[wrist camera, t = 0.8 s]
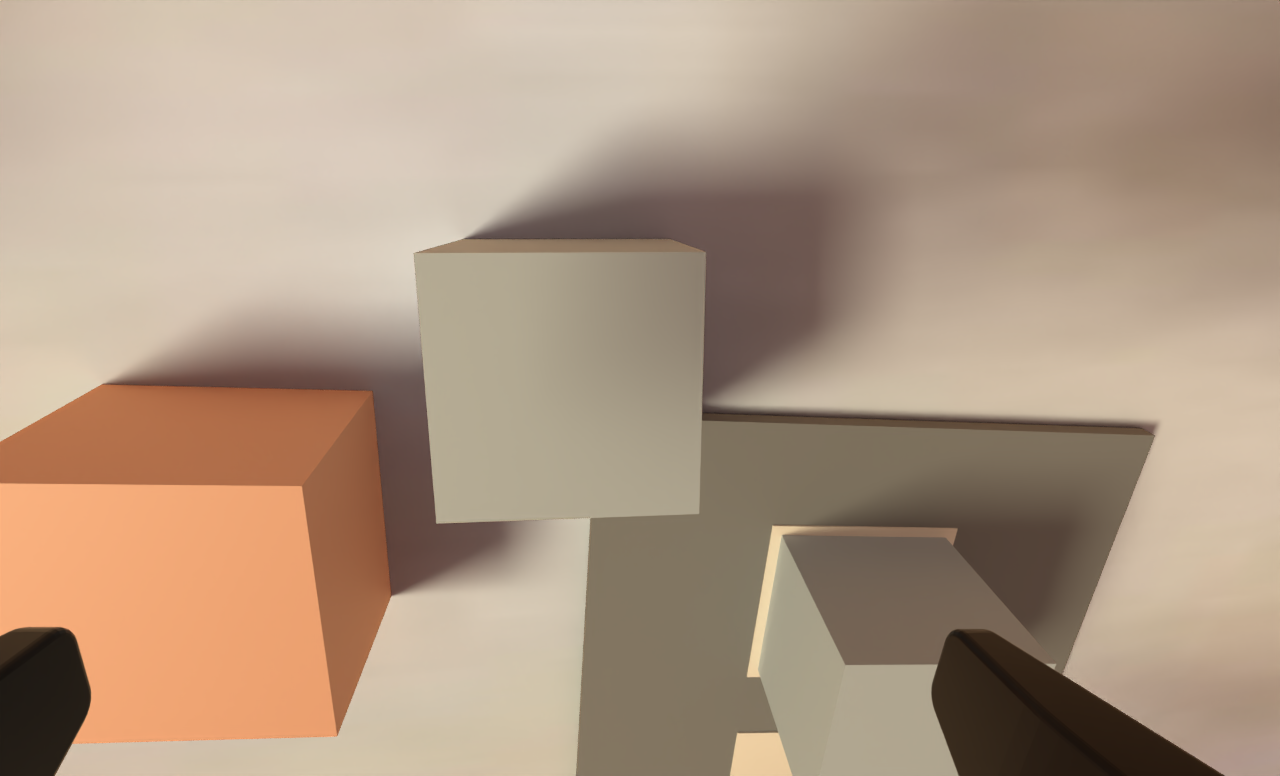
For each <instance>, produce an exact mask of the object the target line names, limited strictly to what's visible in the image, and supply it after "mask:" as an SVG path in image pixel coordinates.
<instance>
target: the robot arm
mask: <svg viewBox="0 0 1280 776" xmlns="http://www.w3.org/2000/svg"><path fill="white" fill-rule="evenodd" d="M931 697H932V703H933V707H934V711H935V713H936V716H937V719H938V722H939V724H940V727H941V730H942V732H943V735H944V738H945V740H946V743H947V746H948V748H949V751H950V754H951V757H952V759H953V762H954V765H955V767H956V770H957V773H958V775H959V776H1224V775H1223V774H1221V773H1220V772H1218V771H1216V770H1215V769H1213V768H1212V767H1210V766H1208V765H1207V764H1205V763H1203V762H1202V761H1200V760H1199V759H1197V758H1195V757H1194V756H1192V755H1191V754H1189V753H1187V752H1186V751H1184V750H1183V749H1181V748H1179V747H1178V746H1176V745H1175V744H1173V743H1171V742H1170V741H1168V740H1166V739H1165V738H1163V737H1162V736H1160V735H1158V734H1157V733H1155V732H1154V731H1152V730H1150V729H1149V728H1147V727H1146V726H1144V725H1142V724H1141V723H1139V722H1138V721H1136V720H1134V719H1133V718H1131V717H1129V716H1128V715H1126V714H1125V713H1123V712H1121V711H1120V710H1118V709H1117V708H1115V707H1113V706H1112V705H1110V704H1109V703H1107V702H1105V701H1104V700H1102V699H1101V698H1099V697H1097V696H1096V695H1094V694H1092V693H1091V692H1089V691H1088V690H1086V689H1084V688H1083V687H1081V686H1080V685H1078V684H1076V683H1075V682H1073V681H1072V680H1070V679H1068V678H1067V677H1065V676H1064V675H1062V674H1060V673H1059V672H1057V671H1056V670H1054V669H1052V668H1051V667H1049V666H1047V665H1046V664H1044V663H1043V662H1041V661H1039V660H1038V659H1036V658H1035V657H1033V656H1031V655H1030V654H1028V653H1027V652H1025V651H1023V650H1022V649H1020V648H1019V647H1017V646H1015V645H1014V644H1012V643H1011V642H1009V641H1007V640H1006V639H1004V638H1002V637H1001V636H999V635H998V634H996V633H994V632H992V631H990V630H986V629H955V630H952V631H951V632H950V633H949V634H948V635H947V637H946V639H945V642H944V646H943V649H942V652H941V655H940V659H939V662H938V665H937V669H936V672H935V675H934V678H933V682H932V687H931ZM90 703H91V687H90V684H89V680H88V677H87V673H86V670H85V666H84V663H83V659H82V656H81V652H80V649H79V645H78V642H77V639H76V637H75V635H74V634H73V633H72V632H71V631H70V630H69V629H66V628H63V627H23V628H18V629H14V630H12V631H9V632H7V633H5V634H3V635H1V636H0V776H55V774H56V773H57V771H58V769H59V767H60V765H61V763H62V761H63V760H64V758H65V756H66V754H67V752H68V750H69V749H70V747H71V745H72V743H73V741H74V739H75V737H76V736H77V734H78V732H79V730H80V728H81V726H82V725H83V723H84V721H85V719H86V716H87V714H88V711H89V708H90Z"/></svg>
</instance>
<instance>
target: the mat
mask: <svg viewBox="0 0 1280 776" xmlns="http://www.w3.org/2000/svg"><path fill="white" fill-rule="evenodd" d="M1154 437H1155V435H1153V434H1151V433H1150V432H1148V431H1146V430H1144V429H1142V428H1122V427H1093V426H1064V425H1034V424H1005V423H976V422H946V421H917V420H888V419H859V418H829V417H800V416H771V415H741V414H712V413H702V429H701V466H700V504H699V514H685V515H658V516H631V517H603V518H591V519H590V537H589V555H588V573H587V591H586V609H585V627H584V645H583V663H582V681H581V699H580V717H579V735H578V753H577V772H576V776H792V773H791V770H790V767H789V764H788V760H787V757H786V754H785V751H784V748H783V745H782V742H781V739H780V736H779V733H778V730H777V727H776V724H775V721H774V718H773V715H772V712H771V708H770V705H769V702H768V699H767V696H766V693H765V690H764V687H763V684H762V681H761V678H760V675H759V672H758V666H759V661H760V655H761V649H762V644H763V638H764V632H765V627H766V621H767V616H768V610H769V604H770V599H771V593H772V587H773V582H774V576H775V570H776V565H777V559H778V554H779V548H780V542H781V537H782V535H807V536H875V537H943V538H947V540H948V541H949V542H950V543H951V544H952V545H953V546H954V548H955V549H956V550H957V551H958V552H959V553H960V554H961V556H962V557H963V558H964V559H965V560H966V561H967V562H968V564H969V565H970V566H971V567H972V568H973V569H974V570H975V571H976V573H977V574H978V575H979V576H980V577H981V578H982V579H983V581H984V582H985V583H986V584H987V585H988V586H989V587H990V589H991V590H992V591H993V592H994V593H995V594H996V595H997V597H998V598H999V599H1000V600H1001V601H1002V602H1003V603H1004V605H1005V606H1006V607H1007V608H1008V609H1009V610H1010V611H1011V613H1012V614H1013V615H1014V616H1015V617H1016V618H1017V619H1018V620H1019V622H1020V623H1021V624H1022V625H1023V626H1024V627H1025V628H1026V630H1027V631H1028V632H1029V633H1030V634H1031V635H1032V636H1033V638H1034V639H1035V640H1036V641H1037V642H1038V643H1039V644H1040V646H1041V647H1042V648H1043V649H1044V650H1045V651H1046V652H1047V654H1048V655H1049V656H1050V657H1051V658H1052V659H1053V660H1054V662H1055V663H1056V666H1055V669H1054V670H1056V671H1057V672H1059V673H1060V674H1062V673H1063V670H1064V668H1065V665H1066V663H1067V660H1068V658H1069V655H1070V652H1071V650H1072V647H1073V645H1074V642H1075V640H1076V637H1077V634H1078V632H1079V629H1080V627H1081V624H1082V622H1083V619H1084V617H1085V614H1086V611H1087V609H1088V606H1089V604H1090V601H1091V599H1092V596H1093V593H1094V591H1095V588H1096V586H1097V583H1098V581H1099V578H1100V576H1101V573H1102V570H1103V568H1104V565H1105V563H1106V560H1107V558H1108V555H1109V552H1110V550H1111V547H1112V545H1113V542H1114V540H1115V537H1116V534H1117V532H1118V529H1119V527H1120V524H1121V522H1122V519H1123V517H1124V514H1125V511H1126V509H1127V506H1128V504H1129V501H1130V499H1131V496H1132V493H1133V491H1134V488H1135V486H1136V483H1137V481H1138V478H1139V476H1140V473H1141V470H1142V468H1143V465H1144V463H1145V460H1146V458H1147V455H1148V452H1149V450H1150V447H1151V445H1152V442H1153V440H1154Z"/></svg>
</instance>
